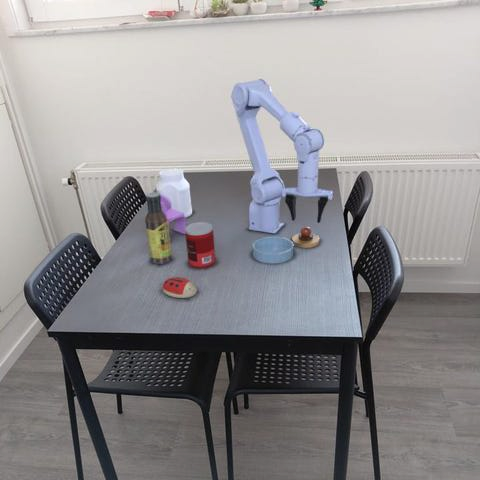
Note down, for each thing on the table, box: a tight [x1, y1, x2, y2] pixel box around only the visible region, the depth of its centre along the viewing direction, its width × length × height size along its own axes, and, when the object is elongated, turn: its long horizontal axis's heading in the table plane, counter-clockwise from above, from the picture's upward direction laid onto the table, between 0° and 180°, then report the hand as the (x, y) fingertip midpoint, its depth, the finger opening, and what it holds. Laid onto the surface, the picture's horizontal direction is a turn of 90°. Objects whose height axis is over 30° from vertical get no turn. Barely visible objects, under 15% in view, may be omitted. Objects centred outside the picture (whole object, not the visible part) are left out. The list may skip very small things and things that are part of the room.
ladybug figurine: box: [161, 276, 198, 299], centre depth 125 cm, size 7×10×4 cm
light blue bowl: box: [251, 236, 295, 265], centre depth 141 cm, size 12×12×3 cm
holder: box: [291, 232, 320, 249], centre depth 148 cm, size 8×8×2 cm
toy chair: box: [160, 194, 187, 235], centre depth 152 cm, size 8×9×15 cm
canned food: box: [184, 221, 216, 269], centre depth 136 cm, size 8×8×11 cm
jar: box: [155, 167, 193, 219], centre depth 168 cm, size 12×10×15 cm
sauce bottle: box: [145, 191, 172, 265], centre depth 136 cm, size 6×6×20 cm
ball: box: [300, 226, 312, 237], centre depth 146 cm, size 3×3×3 cm
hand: (306, 220), depth 144 cm, fingers open, 7 cm apart
